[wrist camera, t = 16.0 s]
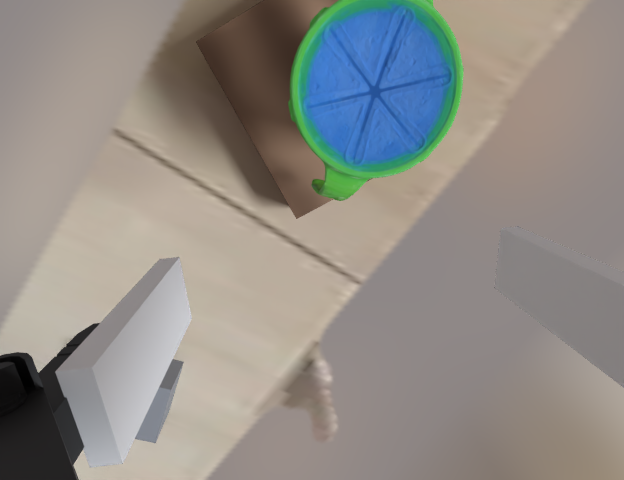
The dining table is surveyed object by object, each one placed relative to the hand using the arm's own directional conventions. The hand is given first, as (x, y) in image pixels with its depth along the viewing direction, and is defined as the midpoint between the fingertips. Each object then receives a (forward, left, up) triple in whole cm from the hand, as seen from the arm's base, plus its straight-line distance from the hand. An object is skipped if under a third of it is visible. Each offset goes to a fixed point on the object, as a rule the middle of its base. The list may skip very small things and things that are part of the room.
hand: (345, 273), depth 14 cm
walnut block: (0, +8, -25) cm, 26 cm away
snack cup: (+3, +8, -20) cm, 21 cm away
